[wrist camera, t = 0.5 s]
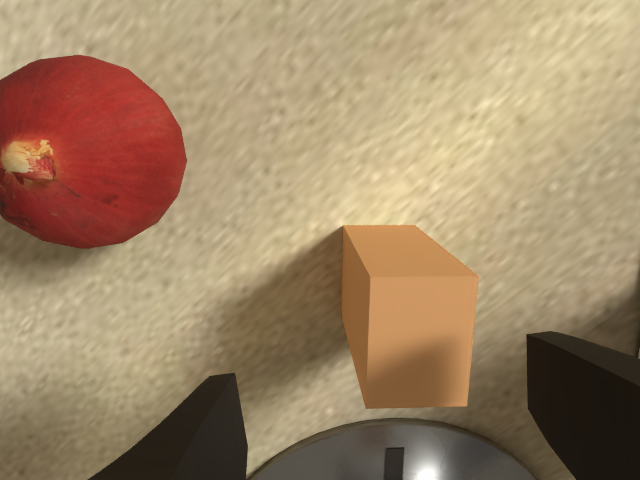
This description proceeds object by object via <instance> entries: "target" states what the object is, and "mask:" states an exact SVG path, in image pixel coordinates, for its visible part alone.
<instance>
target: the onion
mask: <svg viewBox="0 0 640 480" xmlns="http://www.w3.org/2000/svg"><path fill="white" fill-rule="evenodd" d="M186 163H187V159H186V153H185V148H184V143H183V137H182V132H181V128H180V126H179V125H178V123H177V121H176V120H175V118H174V116H173V115H172V113H171V111H170V110H169V108H168V106H167V105H166V103H165V101H164V100H163V99H162V98H161V97H160V96H159V95H158V94H157V93H156V92H154V91H153V90H152V89H151V88H150V87H149V86H147V85H146V84H145V83H144V82H143V81H141V80H140V79H139V78H138V77H137V76H136V75H134V74H133V73H132V72H131V71H130V70H128V69H126V68H123V67H120V66H117V65H114V64H111V63H108V62H105V61H102V60H99V59H96V58H93V57H89V56H82V55H74V56H65V57H57V58H48V59H39V60H37V61H34V62H31V63H29V64H27V65H26V66H24V67H22V68H20V69H19V70H17V71H15V72H13V73H12V74H10V75H8V76H6V77H5V78H3V79H1V80H0V214H1V216H2V217H3V218H4V219H5V220H6V221H8V222H10V223H12V224H13V225H15V226H17V227H19V228H21V229H22V230H24V231H26V232H28V233H30V234H32V235H33V236H35V237H37V238H39V239H41V240H42V241H47V242H52V243H57V244H62V245H66V246H71V247H76V248H94V247H100V246H107V245H113V244H119V243H123V242H125V241H127V240H129V239H130V238H132V237H134V236H136V235H137V234H139V233H141V232H142V231H144V230H146V229H147V228H149V227H151V226H152V225H154V224H156V223H157V222H158V221H159V220H160V219H161V217H162V216H163V215H164V213H165V212H166V211H167V209H168V208H169V207H170V205H171V204H172V203H173V201H174V200H175V199H176V197H177V196H178V194H179V191H180V187H181V183H182V179H183V175H184V171H185V167H186Z"/></svg>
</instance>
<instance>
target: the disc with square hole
mask: <svg viewBox="0 0 640 480" xmlns="http://www.w3.org/2000/svg"><path fill="white" fill-rule="evenodd" d="M248 480H537V479H536V478H535V477H534V476H533V475H532V474H531V472H530V471H529V470H528V469H527V468H526V467H525V466H524V465H523V463H521V462H520V461H519V460H518V459H516V458H515V457H514V456H513V455H512V454H510V453H509V452H508V451H507V450H505V449H504V448H502V447H501V446H499V445H497V444H496V443H494V442H492V441H491V440H489V439H487V438H485V437H483V436H481V435H478V434H476V433H474V432H471V431H469V430H467V429H464V428H460V427H457V426H453V425H450V424H446V423H442V422H436V421H430V420H423V419H409V418H387V419H375V420H366V421H361V422H356V423H351V424H346V425H342V426H339V427H336V428H333V429H330V430H327V431H324V432H320V433H318V434H315V435H313V436H311V437H309V438H307V439H305V440H302V441H300V442H298V443H296V444H294V445H293V446H291V447H289V448H288V449H286V450H284V451H283V452H281V453H279V454H278V455H276V456H275V457H273V458H272V459H271V460H269V461H268V462H267V463H266V464H264V465H263V466H262V467H261V468H259V469H258V470H257V471H256V472H255V473H254V474H253V475H252V476H251V477H250V478H249V479H248Z"/></svg>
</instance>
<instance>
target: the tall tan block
mask: <svg viewBox="0 0 640 480" xmlns="http://www.w3.org/2000/svg"><path fill="white" fill-rule="evenodd" d="M478 279H479V276H478V275H477V274H475V273H474V272H473V271H472V270H470V269H469V268H468V267H467V266H465V265H464V264H463V263H462V262H460V261H459V260H458V259H457V258H455V257H454V256H453V255H452V254H450V253H449V252H448V251H447V250H445V249H444V248H443V247H442V246H440V245H439V244H438V243H437V242H435V241H434V240H433V239H431V238H430V237H429V236H428V235H426V234H425V233H424V232H423V231H421V230H420V229H419V228H418V227H416V226H415V225H343V261H342V308H341V317H342V321H343V324H344V328H345V332H346V336H347V339H348V343H349V347H350V351H351V355H352V358H353V362H354V366H355V370H356V374H357V377H358V381H359V385H360V389H361V392H362V396H363V400H364V404H365V408H366V409H374V408H414V407H455V406H467V401H468V390H469V379H470V368H471V357H472V345H473V334H474V323H475V312H476V301H477V290H478Z"/></svg>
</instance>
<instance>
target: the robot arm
mask: <svg viewBox="0 0 640 480" xmlns="http://www.w3.org/2000/svg"><path fill="white" fill-rule="evenodd" d="M526 337H527V390H528V410H529V411H530V413H531V415H532V417H533V418H534V420H535V422H536V424H537V425H538V427H539V429H540V431H541V432H542V434H543V435H544V437H545V439H546V440H547V442H548V444H549V445H550V446H551V448H552V449H553V450H554V451H555V453H556V454H557V455H558V457H559V458H560V459H561V460H562V462H563V463H564V464H565V466H566V467H567V468H568V469H569V471H570V472H571V473H572V475H573V476H574V477H575V478H576V480H640V350H639V355H638V358H636V357H633V356H630V355H627V354H624V353H621V352H618V351H615V350H612V349H609V348H606V347H603V346H600V345H597V344H594V343H591V342H588V341H585V340H582V339H579V338H576V337H572V336H569V335H566V334H562V333H558V332H553V331H548V332H541V333H533V334H526ZM247 450H248V445H247V439H246V434H245V428H244V422H243V417H242V411H241V405H240V400H239V394H238V388H237V383H236V377H235V373H230V374H222V375H215V376H209V377H208V378H207V379H206V380H205V381H204V382H203V383H202V384H200V385H199V386H198V387H197V388H196V389H195V390H194V391H193V392H192V393H191V394H190V395H189V396H188V397H187V398H186V399H185V400H184V401H183V402H182V403H181V404H180V405H179V406H178V407H177V408H176V409H175V410H174V411H173V412H172V413H171V414H170V415H169V416H168V417H167V418H165V419H164V420H163V421H162V422H161V423H160V424H159V425H158V426H156V427H155V428H154V429H153V430H152V431H151V432H150V433H148V434H147V435H146V436H145V437H144V438H143V439H142V440H140V441H139V442H138V443H137V444H136V445H135V446H133V447H132V448H131V449H130V450H128V451H127V452H126V453H124V454H123V455H122V456H121V457H119V458H118V459H117V460H115V461H114V462H112V463H111V464H110V465H108V466H107V467H105V468H104V469H103V470H101V471H100V472H98V473H97V474H95V475H94V476H93V477H91V478H90V479H88V480H246V468H247Z"/></svg>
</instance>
